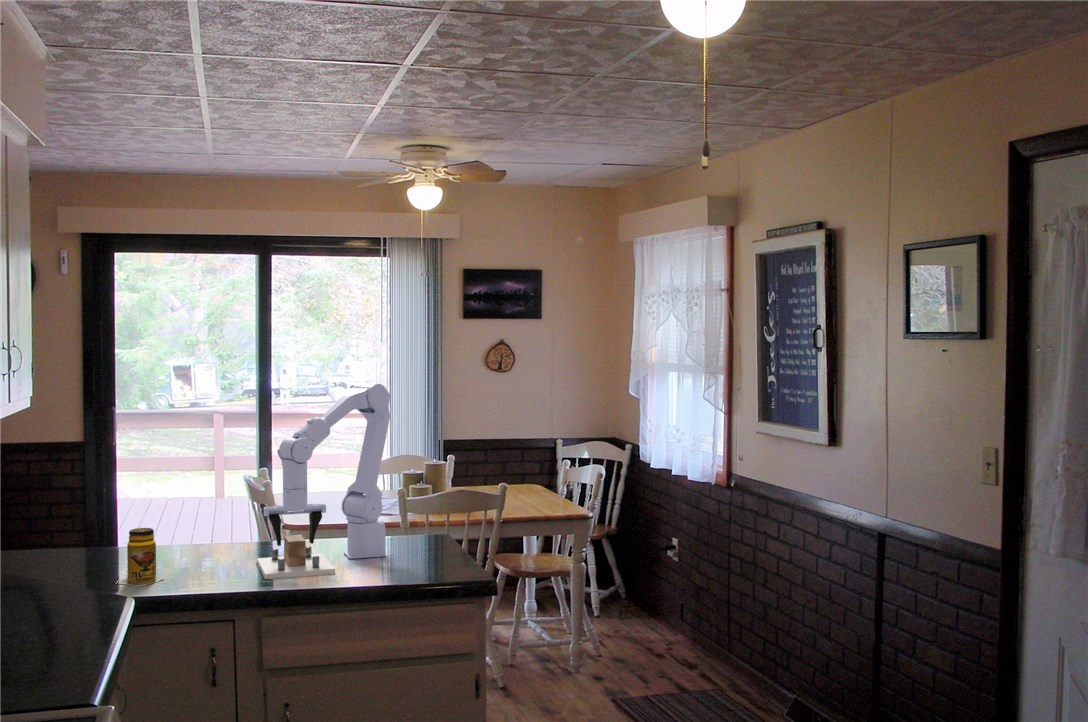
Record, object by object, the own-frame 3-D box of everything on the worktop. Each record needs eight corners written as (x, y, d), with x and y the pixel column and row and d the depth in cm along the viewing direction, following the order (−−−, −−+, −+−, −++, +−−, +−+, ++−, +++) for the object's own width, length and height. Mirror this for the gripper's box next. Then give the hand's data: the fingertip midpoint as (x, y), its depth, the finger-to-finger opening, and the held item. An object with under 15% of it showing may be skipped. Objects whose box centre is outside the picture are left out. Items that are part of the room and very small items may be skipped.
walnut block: (300, 558, 250) (300, 534, 250) (305, 565, 243) (305, 540, 243) (284, 560, 249) (284, 535, 249) (288, 567, 241) (288, 541, 241)
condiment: (143, 586, 227) (143, 533, 226) (112, 583, 229) (112, 530, 229) (165, 579, 234) (165, 527, 233) (134, 576, 236) (134, 525, 236)
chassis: (322, 558, 257) (322, 543, 257) (335, 573, 240) (335, 558, 240) (256, 563, 251) (256, 548, 251) (265, 579, 234) (265, 563, 234)
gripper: (322, 484, 251) (322, 538, 252) (262, 487, 246) (262, 542, 246) (327, 487, 245) (327, 544, 245) (265, 491, 239) (265, 548, 240)
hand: (295, 543), depth 245 cm, fingers open, 7 cm apart
